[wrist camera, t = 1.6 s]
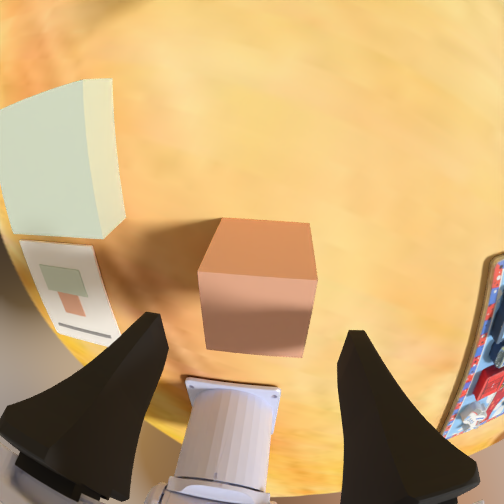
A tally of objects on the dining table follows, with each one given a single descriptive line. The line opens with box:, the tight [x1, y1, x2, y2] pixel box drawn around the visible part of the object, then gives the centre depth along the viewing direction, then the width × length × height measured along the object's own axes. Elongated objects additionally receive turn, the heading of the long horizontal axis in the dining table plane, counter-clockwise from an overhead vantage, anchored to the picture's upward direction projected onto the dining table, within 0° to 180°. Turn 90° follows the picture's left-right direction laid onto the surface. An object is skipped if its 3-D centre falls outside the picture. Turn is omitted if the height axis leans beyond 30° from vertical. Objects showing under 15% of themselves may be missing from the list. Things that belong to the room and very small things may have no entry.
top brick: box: [197, 218, 318, 358], centre depth 14 cm, size 4×4×5 cm
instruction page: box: [19, 239, 121, 347], centre depth 20 cm, size 10×8×1 cm
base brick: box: [0, 78, 126, 239], centre depth 13 cm, size 8×8×3 cm
